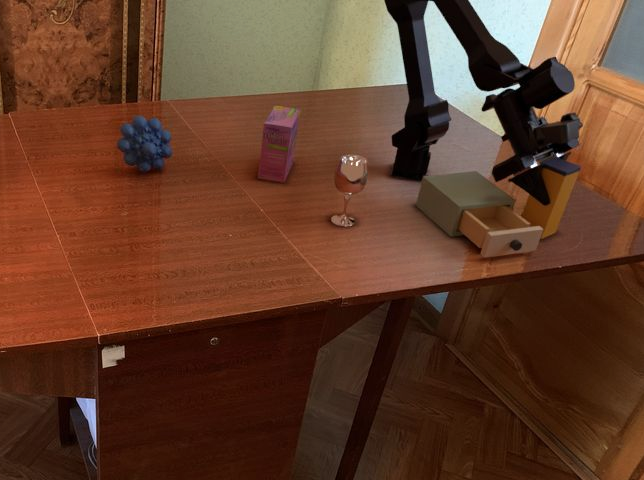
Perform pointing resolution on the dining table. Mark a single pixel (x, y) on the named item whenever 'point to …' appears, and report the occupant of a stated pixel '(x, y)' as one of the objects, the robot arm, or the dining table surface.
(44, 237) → the dining table surface
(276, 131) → the box
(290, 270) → the dining table surface
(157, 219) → the dining table surface
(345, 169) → the wineglass
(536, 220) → the carton
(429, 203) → the cabinet
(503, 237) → the drawer
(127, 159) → the blue knobby rounded piece
